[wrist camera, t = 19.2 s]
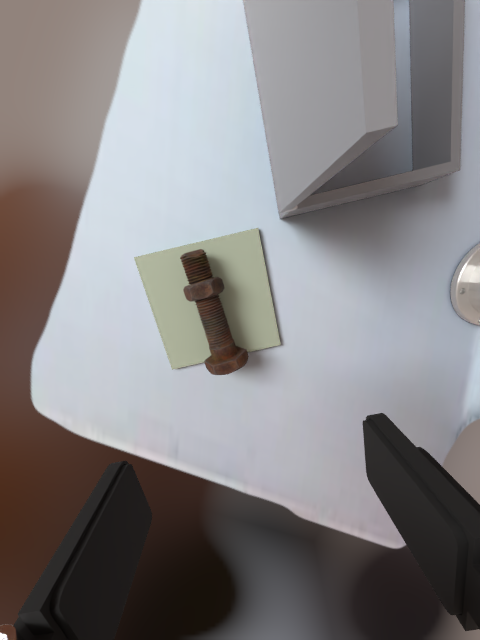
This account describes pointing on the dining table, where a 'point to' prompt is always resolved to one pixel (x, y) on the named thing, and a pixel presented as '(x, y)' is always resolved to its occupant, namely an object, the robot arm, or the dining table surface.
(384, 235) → the dining table surface
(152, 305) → the mat
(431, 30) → the case
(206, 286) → the bolt
